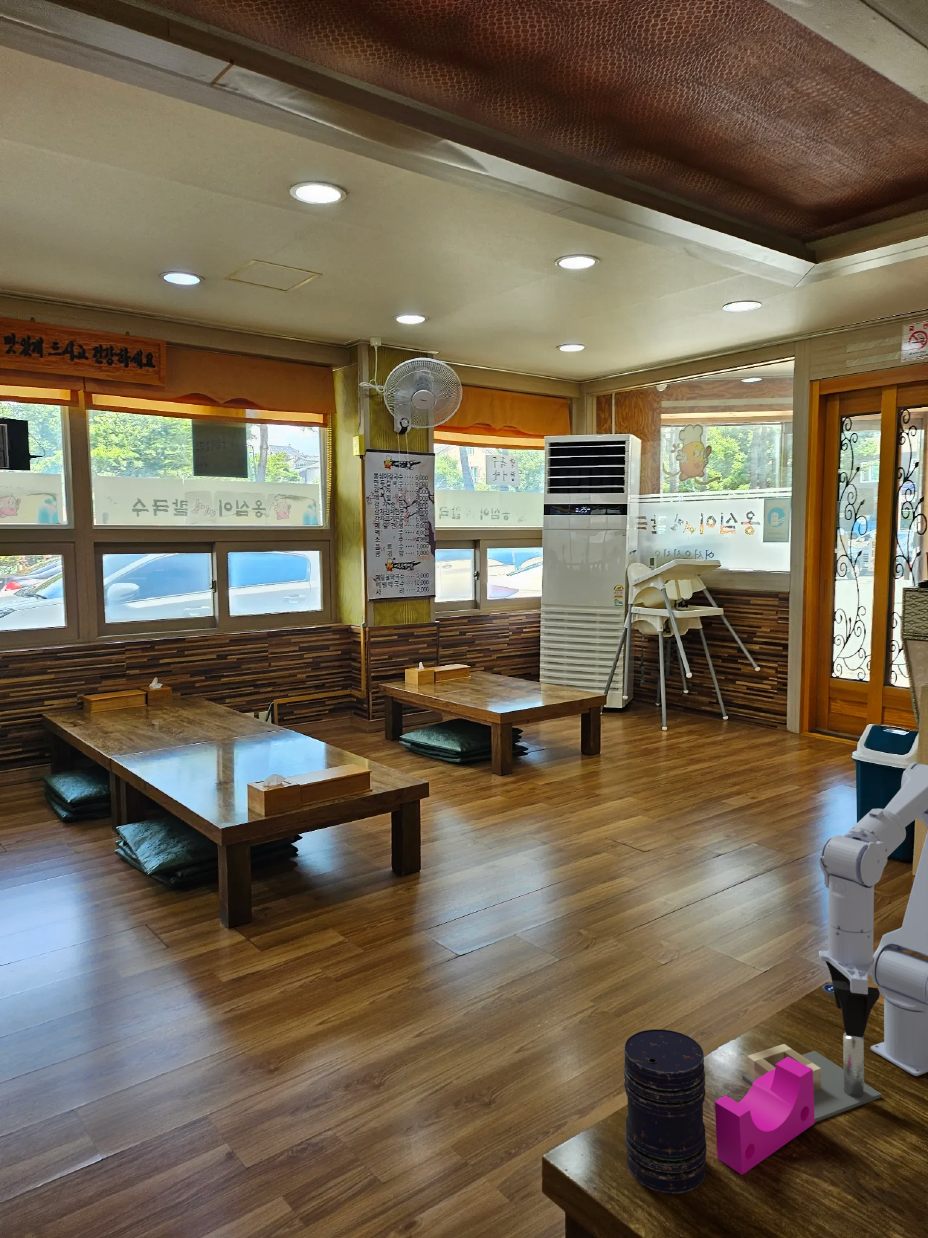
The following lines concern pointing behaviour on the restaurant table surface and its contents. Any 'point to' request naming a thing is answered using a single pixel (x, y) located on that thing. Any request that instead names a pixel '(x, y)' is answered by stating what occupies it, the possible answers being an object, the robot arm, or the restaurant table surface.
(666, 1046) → the dark metal barrel
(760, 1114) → the toy block
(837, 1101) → the charcoal mat
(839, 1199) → the restaurant table surface
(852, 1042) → the metal pin
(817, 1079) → the birch square frame
